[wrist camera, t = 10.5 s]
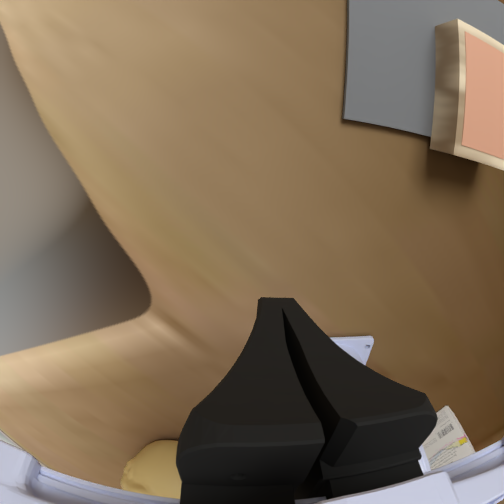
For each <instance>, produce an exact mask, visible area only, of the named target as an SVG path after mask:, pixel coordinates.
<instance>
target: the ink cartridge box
mask: <svg viewBox="0 0 504 504" xmlns="http://www.w3.org/2000/svg"><path fill="white" fill-rule="evenodd" d="M436 414H437V417H438V420H437V424H436V426H435V428H434V430H433V431H432V433H431V434H430V435H429V436H428V438H427V439H426V440H425V441H424V442H423V444H422V446H423V448H424V450H425V453H426V456H427V459H428V462H429V465H430V468H431V470H434V469H436V468H439V467H442V466H444V465H447V464H450V463H452V462H455V461H457V460H459V459H462V458H464V457H467V456H469V455H471V454H473V453H475V450H474V448H473V446H472V445H471V443H470V441H469V439H468V437H467V435H466V433H465V432H464V430H463V428H462V426H461V425H460V423H459V421H458V419H457V418H456V416H455V414H454V413H453V412H452V411H451V409H450V408H449V407H448V406H445V407H443V408H442V409H441V410H439V411H438V412H437V413H436Z"/></svg>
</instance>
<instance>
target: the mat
mask: <svg viewBox="0 0 504 504" xmlns="http://www.w3.org/2000/svg"><path fill="white" fill-rule="evenodd" d="M455 19H459V20H461V21H463V22H465V23H467V24H469V25H471V26H473V27H474V28H476V29H478V30H480V31H481V32H483V33H485V34H487V35H488V36H490V37H492V38H493V39H495V40H496V41H498V42H500V43H501V44H503V45H504V4H502V3H501V2H499V1H498V0H347V50H346V72H345V89H344V103H343V116H342V119H348V120H354V121H359V122H365V123H370V124H376V125H381V126H386V127H390V128H395V129H399V130H404V131H408V132H412V133H416V134H421V135H424V136H428V137H431V134H432V124H433V112H434V97H435V70H436V45H435V26H437V25H440V24H443V23H446V22H449V21H452V20H455Z"/></svg>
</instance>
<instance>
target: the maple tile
mask: <svg viewBox="0 0 504 504" xmlns="http://www.w3.org/2000/svg"><path fill="white" fill-rule="evenodd" d="M435 45H436V70H435V97H434V112H433V124H432V134H431V143H430V149H433V150H437V151H441V152H444V153H448V154H452V155H456V156H459V157H463V158H466V159H469V160H473V161H476V162H479V163H483V164H486V165H489V166H492V167H495V168H498V169H501V170H504V45H503V44H501V43H500V42H498V41H496V40H495V39H493V38H492V37H490V36H488V35H487V34H485V33H483V32H481V31H480V30H478V29H476V28H474V27H473V26H471V25H469V24H467V23H465V22H463V21H461V20H459V19H455V20H452V21H449V22H446V23H443V24H440V25H437V26H435Z"/></svg>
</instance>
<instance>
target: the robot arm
mask: <svg viewBox="0 0 504 504" xmlns="http://www.w3.org/2000/svg"><path fill="white" fill-rule="evenodd" d="M373 343H374V339H373V337H372V336H357V337H332V338H329V337H328V336H327V335H326V334H325V333H324V332H323V331H322V330H321V329H320V328H319V327H318V326H317V325H316V324H315V323H314V322H313V320H312V319H311V318H310V317H309V316H308V315H307V314H306V312H305V311H304V310H303V309H302V308H301V306H300V305H299V304H298V303H297V302H296V301H295V299H294V298H266V297H261V298H260V299H259V300H258V307H257V318H256V321H255V324H254V327H253V330H252V332H251V334H250V337H249V339H248V341H247V343H246V345H245V347H244V349H243V351H242V352H241V354H240V356H239V357H238V359H237V361H236V362H235V364H234V365H233V366H232V368H231V369H230V371H229V372H228V373H227V375H226V376H225V377H224V378H223V380H222V381H221V382H220V383H219V384H218V385H217V386H216V387H215V389H214V390H213V391H212V392H211V393H210V394H209V395H208V396H207V397H206V398H205V399H203V400H202V401H201V402H200V403H199V404H198V405H197V406H196V407H194V408H193V409H192V411H191V413H190V415H189V417H188V419H187V421H186V423H185V425H184V427H183V429H182V432H181V434H180V437H179V441H178V444H177V452H176V466H177V470H178V473H179V476H180V479H181V482H182V484H181V495H180V499H176V498H167V497H160V496H153V495H147V494H141V493H136V492H131V491H126V490H121V489H116V488H112V487H108V486H104V485H100V484H96V483H92V482H89V481H85V480H82V479H78V478H75V477H72V476H69V475H66V474H63V473H60V472H57V471H54V470H51V469H49V468H46V467H43V466H41V465H40V463H39V462H38V461H37V460H36V458H34V457H33V456H32V455H31V454H29V453H28V452H26V451H24V450H22V449H20V448H17V447H15V446H13V445H11V444H8V443H6V442H4V441H0V504H496V503H498V502H499V501H501V500H503V499H504V437H503V438H502V440H500V441H498V442H496V443H494V444H492V445H490V446H488V447H486V448H484V449H482V450H480V451H478V452H475V453H473V454H471V455H469V456H467V457H464V458H462V459H459V460H457V461H455V462H452V463H450V464H447V465H444V466H442V467H439V468H436V469H434V470H431V468H430V465H429V462H428V459H427V456H426V453H425V450H424V448H423V446H422V444H423V442H424V441H425V440H426V439H427V438H428V436H429V435H430V434H431V433H432V431H433V430H434V428H435V426H436V424H437V420H438V417H437V414H436V412H435V410H434V408H433V406H432V405H431V403H430V401H429V399H428V397H427V396H426V394H425V393H422V392H420V391H417V390H414V389H412V388H409V387H406V386H404V385H401V384H399V383H397V382H395V381H392V380H390V379H388V378H386V377H384V376H382V375H381V374H379V373H377V372H375V371H373V370H372V369H370V368H369V367H367V366H365V365H366V362H367V359H368V357H369V354H370V351H371V349H372V346H373ZM366 345H368V346H366Z"/></svg>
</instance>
